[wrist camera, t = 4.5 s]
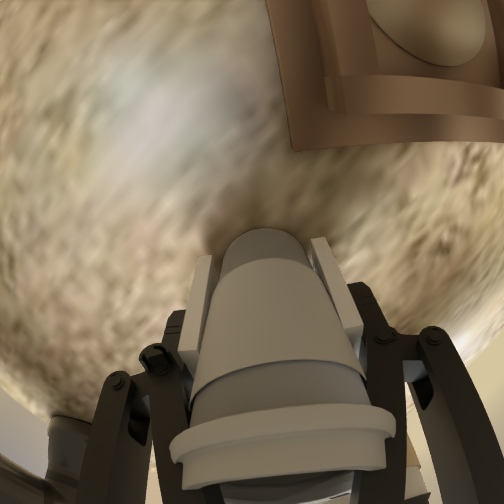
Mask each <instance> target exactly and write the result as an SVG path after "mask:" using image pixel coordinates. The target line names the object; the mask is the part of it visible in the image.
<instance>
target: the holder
mask: <svg viewBox="0 0 504 504" xmlns="http://www.w3.org/2000/svg"><path fill="white" fill-rule="evenodd" d="M265 2H266V6H267V11H268V16H269V20H270V25H271V30H272V35H273V40H274V45H275V50H276V55H277V60H278V66H279V71H280V77H281V83H282V88H283V94H284V100H285V106H286V113H287V119H288V125H289V132H290V139H291V146H292V149H293V150H294V152H300V151H308V150H316V149H325V148H334V147H344V146H355V145H367V144H382V143H400V142H429V141H470V142H498V143H504V0H265Z"/></svg>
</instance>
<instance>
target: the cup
mask: <svg viewBox="0 0 504 504" xmlns="http://www.w3.org/2000/svg"><path fill="white" fill-rule="evenodd" d="M366 382H367V379H366V376H365V374H364V371H363V369H362V367H361V365H360V362H359V360H358V358H357V355H356V353H355V351H354V349H353V346H352V344H351V342H350V340H349V337H348V335H347V333H346V331H345V330H344V328H343V326H342V324H341V321H340V319H339V317H338V314H337V312H336V310H335V307H334V305H333V303H332V300H331V298H330V296H329V294H328V292H327V290H326V288H325V286H324V284H323V282H322V280H321V279H320V278H319V276H318V275H317V274H316V273H315V272H314V270H313V268H312V265H311V263H310V261H309V259H308V257H307V255H306V253H305V251H304V249H303V247H302V245H301V244H300V242H299V241H298V240H297V239H296V238H295V237H293V236H292V235H290V234H289V233H287V232H284V231H282V230H279V229H273V228H259V229H254V230H251V231H248V232H245V233H243V234H242V235H240V236H238V237H237V238H236V239H235V240H234V241H233V242H232V243H231V244H230V245H229V247H228V248H227V250H226V252H225V255H224V258H223V263H222V267H221V272H220V276H219V281H218V285H217V286H216V288H215V291H214V293H213V295H212V299H211V303H210V308H209V312H208V317H207V321H206V326H205V331H204V335H203V340H202V344H201V349H200V354H199V359H198V363H197V368H196V373H195V378H194V383H193V388H192V393H191V398H190V403H189V411H190V412H192V415H191V421H190V427H189V429H187V430H185V431H183V432H182V433H180V434H179V435H177V436H176V437H175V438H174V439H173V441H172V442H171V444H170V447H169V449H170V453H171V458H172V460H173V462H174V463H175V464H176V463H177V462H182V463H183V477H182V489H183V490H194V489H200V488H202V487H204V486H207V485H211V484H216V483H219V485H220V489H221V492H222V495H223V499H224V502H225V504H316V503H321V502H325V501H329V500H333V499H336V498H340V497H343V496H346V495H349V494H351V490H352V483H353V477H354V470H367V471H373V470H380V469H385V468H386V454H385V442H384V440H385V439H386V438H389V437H390V436H391V437H392V438H394V437H395V433H396V420H395V418H394V416H393V415H392V413H390V412H388V411H386V410H385V409H383V408H380V407H375V406H372V405H371V402H370V400H369V397H368V395H367V391H366V389H365V386H364V384H366ZM389 435H390V436H389Z"/></svg>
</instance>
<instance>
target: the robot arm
mask: <svg viewBox="0 0 504 504" xmlns="http://www.w3.org/2000/svg"><path fill="white" fill-rule="evenodd" d="M311 248H312V260H313V270H314V272H315V273H316V274H317V275H318V276H319V278H320V279H321V280H322V282H323V284H324V286H325V288H326V290H327V292H328V294H329V296H330V298H331V300H332V303H333V305H334V307H335V310H336V312H337V314H338V317H339V319H340V321H341V324H342V326H343V328H344V330H345V331H346V333H347V335H348V337H349V340H350V342H351V344H352V346H353V349H354V351H355V353H356V355H357V358H358V360H359V362H360V365H361V367H362V369H363V371H364V374H365V376H366V379H367V382H366V384H364V386H365V389H366V391H367V395H368V397H369V400H370V402H371V405H372V406H375V407H380V408H383V409H385V410H386V411H388V412H390V413H392V415H393V416H394V418H395V420H396V433H395V437H394V438H392V437H391V436H390V435H389V436H390V437H389V438H386V439H385V440H384V442H385V454H386V468H385V469H380V470H373V471H367V470H354V477H353V483H352V490H351V496H350V503H349V504H404V500H405V486H406V466H407V423H406V422H407V421H406V420H407V419H406V398H405V383H404V382H407V384H408V387H409V389H410V392H411V395H412V398H413V401H414V404H415V406H416V409H417V412H418V415H419V418H420V421H421V424H422V428H423V431H424V434H425V437H426V440H427V444H428V447H429V451H430V454H431V458H432V462H433V465H434V469H435V473H436V477H437V481H438V484H439V488H440V493H441V497H442V502H443V504H504V458H503V455H502V451H501V449H500V446H499V443H498V440H497V438H496V435H495V432H494V430H493V427H492V425H491V422H490V420H489V417H488V415H487V413H486V410H485V408H484V406H483V403H482V401H481V399H480V397H479V394H478V392H477V390H476V388H475V386H474V384H473V382H472V379H471V378H470V375H469V373H468V372H467V370H466V367H465V365H464V363H463V362H462V360H461V358H460V356H459V354H458V352H457V350H456V348H455V346H454V345H453V343H452V341H451V339H450V337H449V336H448V334H447V333H446V332H445V330H443V329H442V328H440V327H436V326H428V327H426V328H424V329H423V330H422V331H421V332H420V334H419V335H404V334H400V333H398V332H397V331H396V330H395V329H394V328H392V327H390V326H389V325H388V323H387V321H386V319H385V317H384V315H383V313H382V311H381V309H380V307H379V305H378V303H377V301H376V299H375V297H374V296H373V293H372V291H371V289H370V287H368V286H367V285H366V284H364V283H363V282H357V283H352V284H346V282H345V280H344V277H343V275H342V273H341V271H340V269H339V266H338V264H337V262H336V260H335V258H334V255H333V253H332V251H331V249H330V247H329V245H328V243H327V241H326V239H325V237H320V238H313V239H311ZM218 281H219V277H218V274H217V271H216V267H215V264H214V260H213V257H212V255H208V256H202V257H198V261H197V265H196V269H195V273H194V278H193V282H192V286H191V291H190V295H189V299H188V304H187V308H186V310H177V311H173V313H172V314H171V315H170V317H169V318H168V320H167V324H166V328H165V331H164V335H163V339H162V343H155V344H152V345H149V346H147V347H146V348H145V349H143V351H142V352H141V353H140V355H139V361H140V363H141V364H142V365H143V367H144V368H145V370H146V371H145V372H143V373H139V374H136V375H133V376H130V375H129V374H128V373H127V372H125V371H115V372H113V373H112V374H110V375H109V376H108V377H107V378H106V380H105V382H104V385H103V388H102V391H101V394H100V398H99V401H98V405H97V408H96V411H95V415H94V419H93V422H92V425H90V424H88V423H85V422H82V421H79V420H76V419H72V418H68V417H62V416H55V417H52V418H51V421H50V424H49V427H48V436H49V445H48V446H49V447H48V469H47V473H46V476H45V479H42V478H40V477H38V476H37V475H35V474H33V473H31V472H29V471H28V470H26V469H24V468H23V467H21V466H19V465H18V464H16V463H14V462H13V461H11V460H10V459H8V458H7V457H5V456H4V455H2V454H1V453H0V504H145V499H146V489H147V480H148V471H149V463H150V455H151V447H152V440H153V445H154V453H155V460H156V467H157V473H158V479H159V485H160V491H161V496H162V502H163V504H225V502H224V499H223V495H222V492H221V489H220V485H219V483H216V484H211V485H207V486H204V487H202V488H200V489H194V490H183V489H182V477H183V463H182V462H177V463H176V464H175V463H174V462H173V460H172V458H171V453H170V449H169V447H170V444H171V442H172V441H173V439H174V438H175V437H176V436H177V435H179V434H180V433H182V432H183V431H185V430H187V429H189V427H190V421H191V415H192V412H190V411H189V403H190V398H191V393H192V388H193V383H194V378H195V373H196V368H197V363H198V359H199V354H200V349H201V344H202V340H203V335H204V331H205V326H206V321H207V317H208V312H209V308H210V303H211V299H212V295H213V293H214V291H215V288H216V286H217V285H218Z"/></svg>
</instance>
